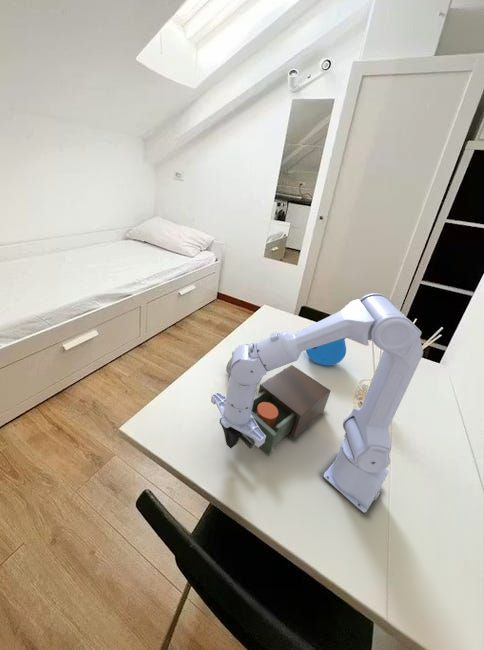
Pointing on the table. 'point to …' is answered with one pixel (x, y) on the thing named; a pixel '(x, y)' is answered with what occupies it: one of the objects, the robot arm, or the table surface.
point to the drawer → (272, 436)
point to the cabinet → (297, 396)
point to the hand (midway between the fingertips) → (231, 444)
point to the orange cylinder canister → (267, 413)
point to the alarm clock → (328, 352)
